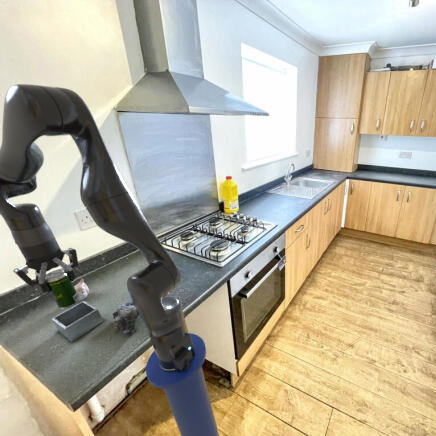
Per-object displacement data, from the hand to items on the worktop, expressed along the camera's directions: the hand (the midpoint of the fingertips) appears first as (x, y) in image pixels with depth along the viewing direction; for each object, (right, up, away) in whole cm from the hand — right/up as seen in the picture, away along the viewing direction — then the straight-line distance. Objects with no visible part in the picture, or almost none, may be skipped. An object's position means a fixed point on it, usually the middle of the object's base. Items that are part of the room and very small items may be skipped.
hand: (60, 285), depth 74 cm
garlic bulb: (-11, -11, +20) cm, 25 cm away
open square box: (0, -17, +8) cm, 18 cm away
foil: (+16, -15, +11) cm, 24 cm away
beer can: (0, -7, +3) cm, 8 cm away
